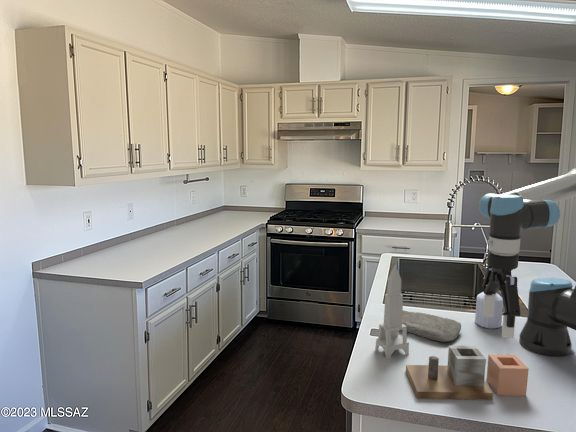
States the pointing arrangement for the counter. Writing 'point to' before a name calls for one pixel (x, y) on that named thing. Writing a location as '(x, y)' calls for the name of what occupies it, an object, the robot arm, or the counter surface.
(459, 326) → the stone
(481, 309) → the spray bottle
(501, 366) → the orange hollow cube
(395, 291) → the sculpture
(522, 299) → the counter surface
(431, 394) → the pin board
